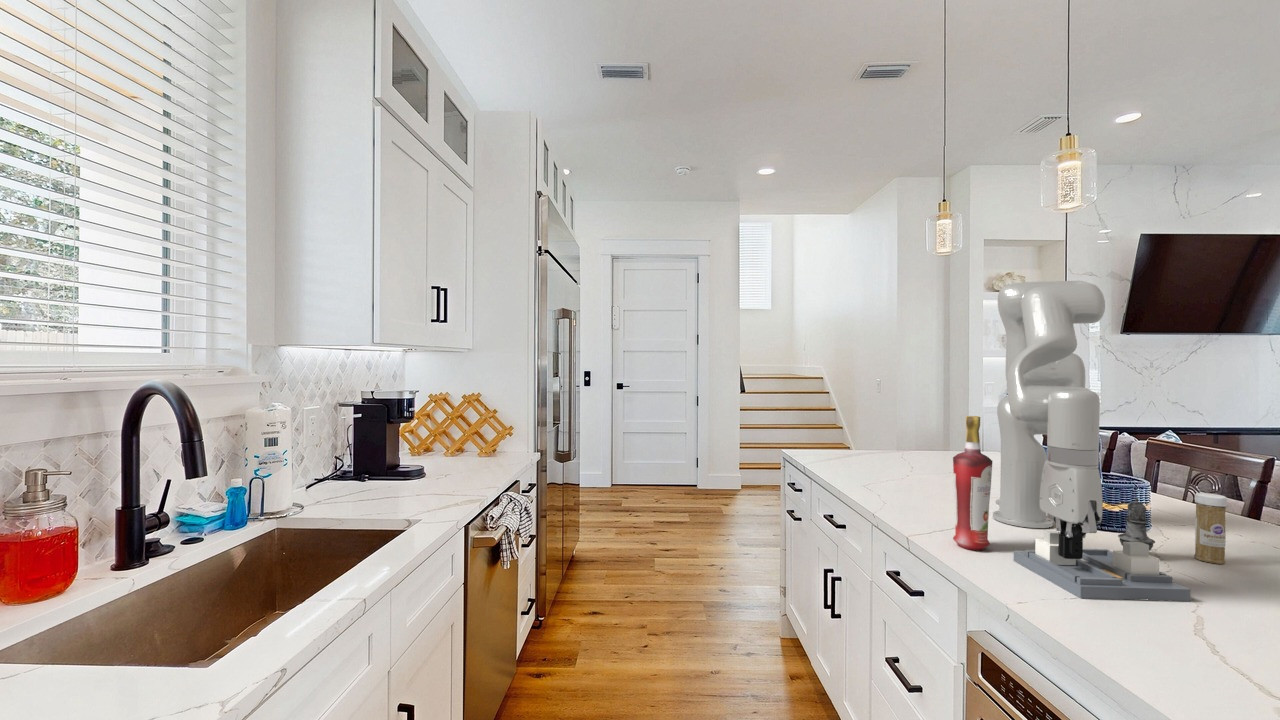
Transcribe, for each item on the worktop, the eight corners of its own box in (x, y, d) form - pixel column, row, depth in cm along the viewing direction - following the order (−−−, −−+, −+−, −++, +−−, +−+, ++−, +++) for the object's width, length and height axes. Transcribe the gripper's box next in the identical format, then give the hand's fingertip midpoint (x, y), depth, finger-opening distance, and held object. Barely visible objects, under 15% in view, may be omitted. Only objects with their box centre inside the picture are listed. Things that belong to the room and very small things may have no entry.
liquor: (965, 539, 127) (966, 414, 127) (998, 549, 120) (1000, 417, 120) (944, 544, 123) (946, 415, 123) (977, 554, 117) (979, 418, 117)
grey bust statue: (1162, 561, 114) (1163, 502, 114) (1128, 559, 115) (1129, 500, 115) (1142, 552, 120) (1143, 495, 120) (1110, 549, 121) (1111, 493, 121)
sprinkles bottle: (1210, 564, 113) (1211, 497, 113) (1187, 556, 118) (1188, 491, 118) (1232, 564, 113) (1233, 497, 113) (1208, 556, 118) (1209, 492, 118)
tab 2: (1112, 569, 103) (1113, 539, 103) (1139, 570, 103) (1140, 540, 103) (1131, 578, 99) (1131, 546, 99) (1159, 578, 99) (1159, 547, 99)
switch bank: (1013, 560, 114) (1013, 545, 114) (1105, 562, 113) (1105, 547, 113) (1080, 598, 96) (1080, 580, 96) (1190, 601, 95) (1190, 583, 95)
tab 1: (1035, 557, 110) (1035, 528, 110) (1060, 557, 109) (1061, 529, 109) (1049, 564, 106) (1049, 534, 106) (1075, 565, 105) (1076, 535, 105)
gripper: (1024, 449, 111) (1023, 543, 111) (1081, 464, 96) (1079, 572, 96) (1063, 450, 111) (1062, 544, 111) (1127, 465, 96) (1125, 573, 96)
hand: (1070, 557), depth 104 cm, fingers closed
